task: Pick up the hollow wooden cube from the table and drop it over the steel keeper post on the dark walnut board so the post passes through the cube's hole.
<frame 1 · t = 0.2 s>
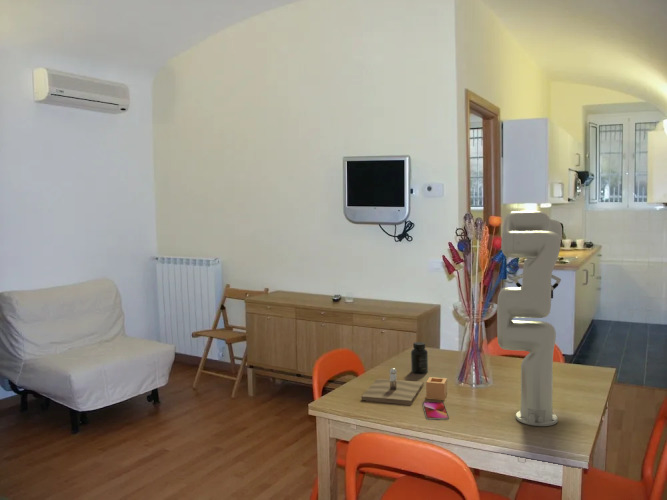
hand: (536, 299, 228), 31 cm above the table, tool pointing down, fingers open, 9 cm apart
keeper post: (393, 378, 218), on the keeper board, point 5 cm above the table
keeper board: (393, 392, 218), on the table
hollow wooden cube: (436, 396, 213), on the table
supplement bottle: (419, 372, 244), on the table
smartphone: (435, 413, 198), on the table
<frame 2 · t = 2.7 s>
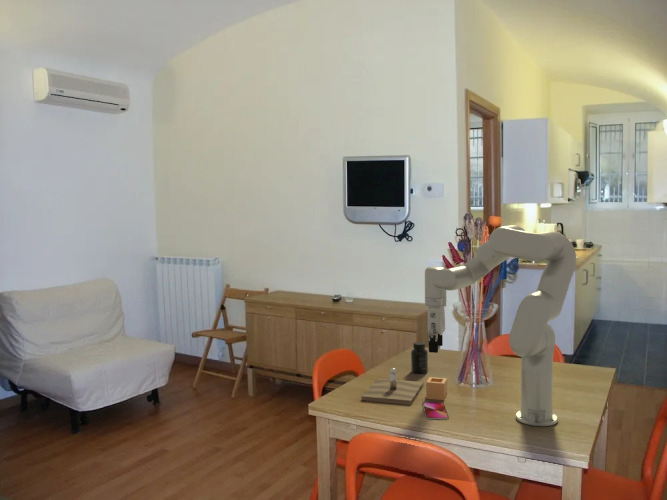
hand: (435, 348, 212), 17 cm above the table, tool pointing down, fingers open, 9 cm apart
nothing on the table moved.
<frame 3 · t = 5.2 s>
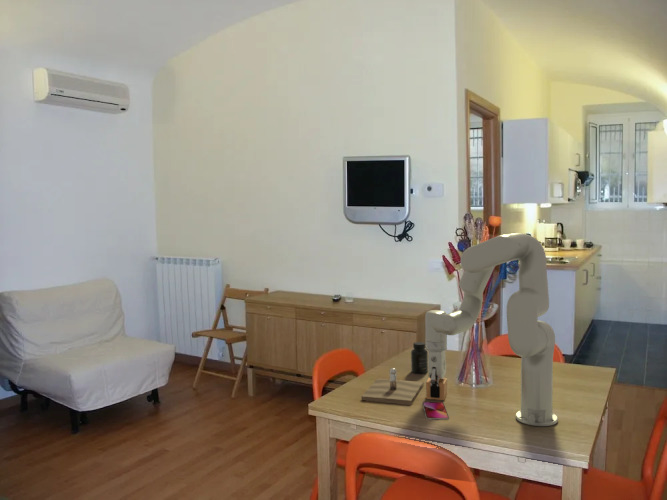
hand: (436, 393, 213), 1 cm above the table, tool pointing down, fingers closed on hollow wooden cube, 6 cm apart
hollow wooden cube: (436, 396, 213), on the table, touching gripper
everything else where it was.
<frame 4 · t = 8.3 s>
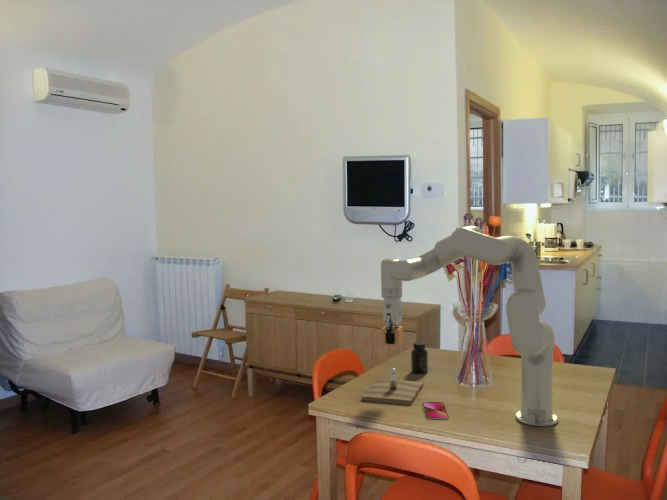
hand: (392, 340, 216), 19 cm above the table, tool pointing down, fingers closed on hollow wooden cube, 6 cm apart
hollow wooden cube: (392, 343, 217), point 18 cm above the table, touching gripper
everything else where it was.
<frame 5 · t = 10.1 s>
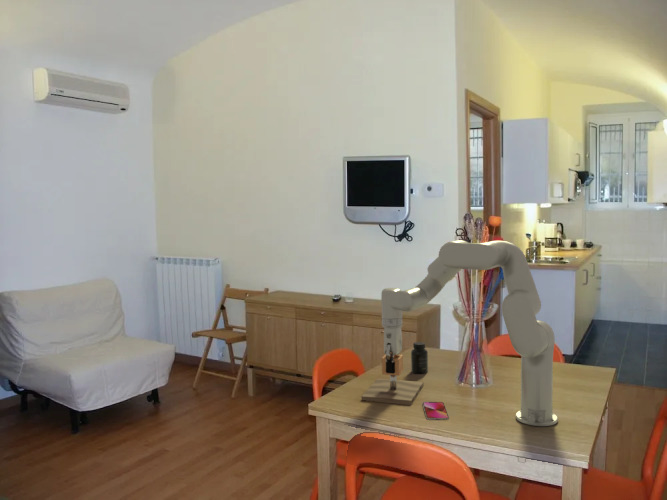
hand: (392, 369, 217), 9 cm above the table, tool pointing down, fingers closed on hollow wooden cube, 6 cm apart
hollow wooden cube: (392, 372, 218), point 8 cm above the table, touching gripper
everything else where it was.
when the fingers open (7 cm above the table, at t = 11.4 s): hollow wooden cube drops 5 cm, resting on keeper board.
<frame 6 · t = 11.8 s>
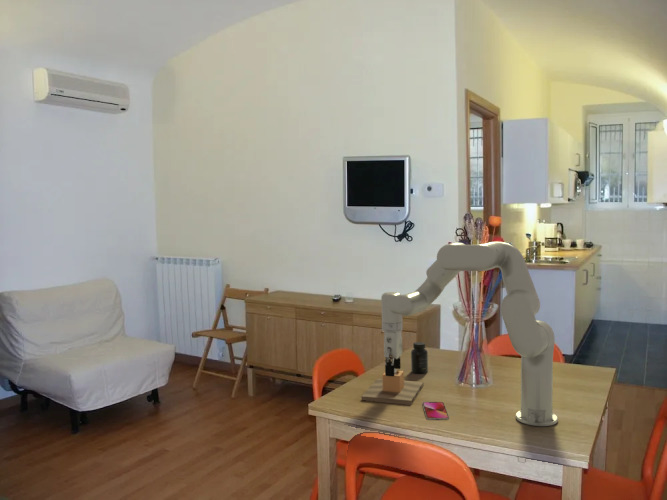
hand: (393, 372, 217), 8 cm above the table, tool pointing down, fingers open, 9 cm apart
hollow wooden cube: (393, 388, 218), point 1 cm above the table, touching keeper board
everything else where it was.
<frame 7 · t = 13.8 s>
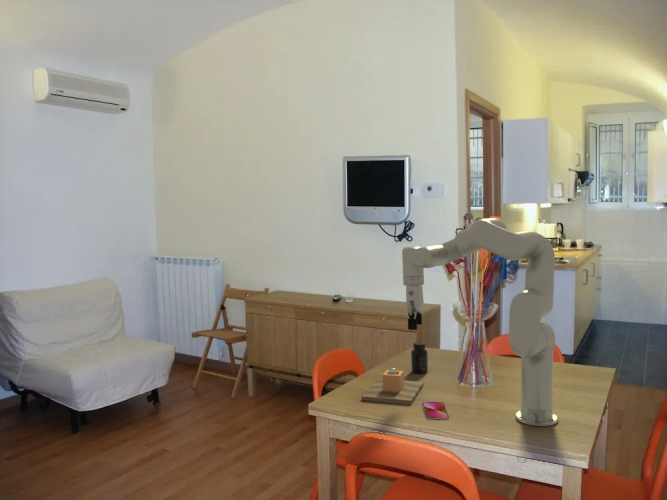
hand: (415, 326, 217), 24 cm above the table, tool pointing down, fingers open, 9 cm apart
nothing on the table moved.
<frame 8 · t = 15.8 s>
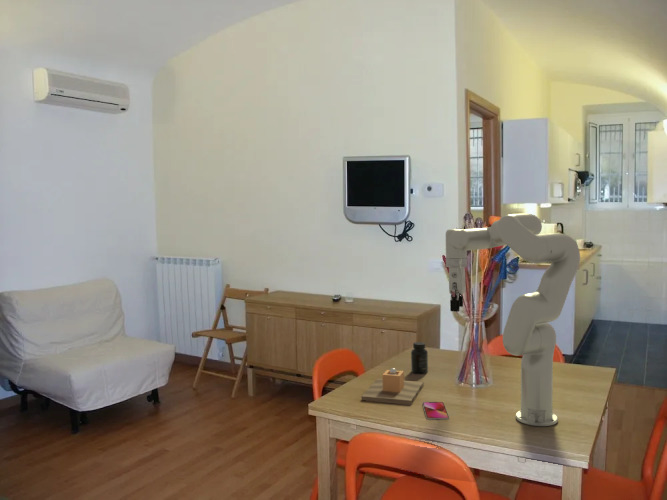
hand: (456, 308, 218), 30 cm above the table, tool pointing down, fingers open, 9 cm apart
nothing on the table moved.
at the end: hollow wooden cube 0.1 cm off-centre on the keeper post, point 1.5 cm above the keeper post's base; hollow wooden cube tilted 0°; the gripper is holding nothing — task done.
